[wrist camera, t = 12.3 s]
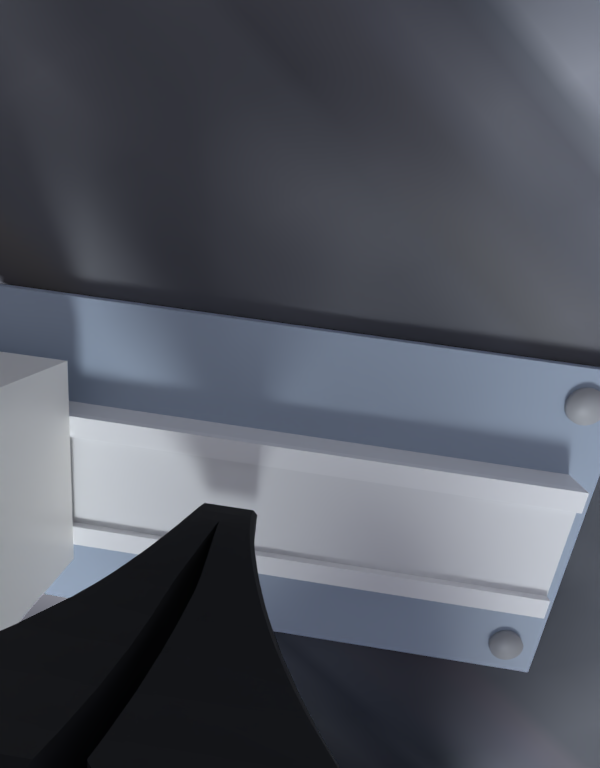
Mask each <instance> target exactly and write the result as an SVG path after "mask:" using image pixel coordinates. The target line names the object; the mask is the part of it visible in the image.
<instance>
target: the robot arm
mask: <svg viewBox="0 0 600 768" xmlns="http://www.w3.org/2000/svg"><path fill="white" fill-rule="evenodd" d="M256 522H257V514H256V513H255V512H254V510H248V509H242V508H235V507H229V506H222V505H215V504H209V503H204V504H202V505H201V506H199V507H198V508H197V509H196V510H195V511H193V512H192V513H191V514H190V515H189V516H187V517H186V518H185V519H184V520H183V521H181V522H180V523H179V524H178V525H176V526H175V527H174V528H173V529H172V530H170V531H169V532H168V533H167V534H165V535H164V536H163V537H161V538H160V539H159V540H157V541H156V542H155V543H154V544H152V545H151V546H150V547H148V548H147V549H146V550H144V551H143V552H142V553H140V554H139V555H137V556H136V557H134V558H133V559H132V560H130V561H129V562H127V563H126V564H124V565H123V566H121V567H120V568H118V569H117V570H116V571H114V572H113V573H111V574H109V575H108V576H106V577H105V578H103V579H101V580H100V581H98V582H96V583H95V584H93V585H91V586H89V587H88V588H86V589H84V590H82V591H81V592H79V593H77V594H75V595H74V596H72V597H70V598H68V599H66V600H64V601H62V602H60V603H58V604H56V605H54V606H52V607H50V608H48V609H46V610H44V611H42V612H40V613H38V614H36V615H34V616H31V617H29V618H28V619H25V620H23V621H21V622H19V623H17V624H15V625H12V626H10V627H8V628H6V629H3V630H1V631H0V768H340V767H339V765H338V763H337V762H336V760H335V758H334V757H333V755H332V753H331V752H330V750H329V748H328V747H327V745H326V743H325V742H324V740H323V738H322V736H321V735H320V733H319V731H318V729H317V727H316V726H315V724H314V722H313V720H312V718H311V716H310V714H309V712H308V711H307V709H306V707H305V705H304V703H303V701H302V699H301V697H300V695H299V693H298V691H297V688H296V686H295V684H294V681H293V679H292V677H291V675H290V672H289V670H288V668H287V666H286V663H285V661H284V659H283V657H282V654H281V652H280V649H279V646H278V643H277V641H276V638H275V635H274V632H273V629H272V626H271V623H270V620H269V617H268V613H267V610H266V606H265V602H264V599H263V594H262V590H261V586H260V581H259V576H258V570H257V563H256V556H255V546H254V540H255V531H256Z"/></svg>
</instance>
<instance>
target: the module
mask: <svg viewBox="0 0 600 768" xmlns="http://www.w3.org/2000/svg"><path fill="white" fill-rule="evenodd" d="M73 559H74V548H73V517H72V486H71V455H70V425H69V394H68V363H67V361H65V360H58V359H51V358H44V357H36V356H29V355H22V354H15V353H7V352H0V631H1V630H3V629H6V628H8V627H10V626H12V625H15V624H17V623H19V622H20V621H21V620H22V618H23V617H24V616H25V615H26V614H27V613H28V611H29V610H30V609H31V608H32V607H33V606H34V604H35V603H36V602H37V601H38V600H39V599H40V597H41V596H42V595H43V594H44V593H45V592H46V590H47V589H48V588H49V587H50V586H51V585H52V583H53V582H54V581H55V580H56V579H57V577H58V576H59V575H60V574H61V573H62V572H63V570H64V569H65V568H66V567H67V566H68V565H69V563H70V562H71V561H72V560H73Z"/></svg>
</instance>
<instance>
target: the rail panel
mask: <svg viewBox="0 0 600 768" xmlns="http://www.w3.org/2000/svg"><path fill="white" fill-rule="evenodd" d="M0 352H7V353H15V354H22V355H29V356H36V357H44V358H51V359H58V360H65V361H67V363H68V394H69V425H70V455H71V486H72V517H73V548H74V559H73V560H72V561H71V562H70V563H69V565H68V566H67V567H66V568H65V569H64V570H63V572H62V573H61V574H60V575H59V576H58V577H57V579H56V580H55V581H54V582H53V583H52V585H51V586H50V587H49V588H48V589H47V590H46V592H45V593H44V594H48V595H54V596H60V597H67V598H70V597H72V596H74V595H75V594H77V593H79V592H81V591H82V590H84V589H86V588H88V587H89V586H91V585H93V584H95V583H96V582H98V581H100V580H101V579H103V578H105V577H106V576H108V575H109V574H111V573H113V572H114V571H116V570H117V569H118V568H120V567H121V566H123V565H124V564H126V563H127V562H129V561H130V560H132V559H133V558H134V557H136V556H137V555H139V554H140V553H142V552H143V551H144V550H146V549H147V548H148V547H150V546H151V545H152V544H154V543H155V542H156V541H157V540H159V539H160V538H161V537H163V536H164V535H165V534H167V533H168V532H169V531H170V530H172V529H173V528H174V527H175V526H176V525H178V524H179V523H180V522H181V521H183V520H184V519H185V518H186V517H187V516H189V515H190V514H191V513H192V512H193V511H195V510H196V509H197V508H198V507H199V506H201V505H202V504H204V503H209V504H215V505H222V506H229V507H235V508H242V509H248V510H254V512H255V513H256V514H257V522H256V531H255V540H254V546H255V556H256V563H257V570H258V576H259V581H260V586H261V590H262V594H263V599H264V602H265V606H266V610H267V613H268V617H269V620H270V623H271V626H272V629H273V631H276V632H282V633H288V634H294V635H300V636H307V637H313V638H319V639H325V640H331V641H337V642H344V643H350V644H356V645H362V646H368V647H374V648H381V649H387V650H393V651H399V652H405V653H411V654H418V655H424V656H430V657H436V658H442V659H448V660H455V661H461V662H467V663H473V664H479V665H485V666H492V667H498V668H504V669H510V670H516V671H522V672H528V671H529V668H530V665H531V663H532V660H533V657H534V654H535V652H536V649H537V646H538V643H539V640H540V638H541V635H542V632H543V629H544V627H545V624H546V621H547V618H548V616H549V613H550V610H551V607H552V605H553V602H554V599H555V596H556V594H557V591H558V588H559V585H560V583H561V580H562V577H563V574H564V572H565V569H566V566H567V563H568V561H569V558H570V555H571V552H572V550H573V547H574V544H575V541H576V539H577V536H578V533H579V530H580V528H581V525H582V522H583V519H584V517H585V514H586V511H587V508H588V506H589V503H590V500H591V497H592V495H593V492H594V489H595V486H596V484H597V481H598V478H599V475H600V367H595V366H588V365H581V364H574V363H566V362H559V361H552V360H545V359H538V358H531V357H523V356H516V355H509V354H502V353H495V352H488V351H480V350H473V349H466V348H459V347H452V346H444V345H437V344H430V343H423V342H416V341H409V340H401V339H394V338H387V337H380V336H373V335H366V334H358V333H351V332H344V331H337V330H330V329H323V328H315V327H308V326H301V325H294V324H287V323H280V322H272V321H265V320H258V319H251V318H244V317H236V316H229V315H222V314H215V313H208V312H201V311H193V310H186V309H179V308H172V307H165V306H158V305H150V304H143V303H136V302H129V301H122V300H115V299H107V298H100V297H93V296H86V295H79V294H72V293H64V292H57V291H50V290H43V289H36V288H28V287H21V286H14V285H7V284H0Z"/></svg>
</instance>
